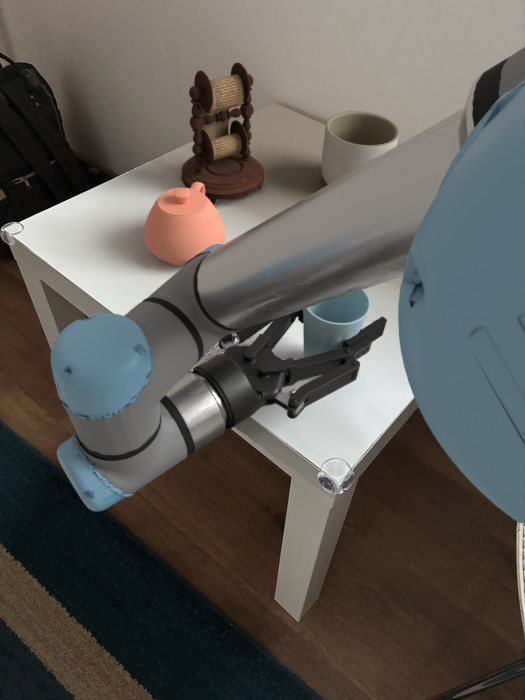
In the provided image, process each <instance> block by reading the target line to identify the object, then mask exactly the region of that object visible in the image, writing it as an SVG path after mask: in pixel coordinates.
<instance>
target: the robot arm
mask: <svg viewBox="0 0 525 700" xmlns="http://www.w3.org/2000/svg"><path fill="white" fill-rule="evenodd" d="M399 278H402V280H401V284H400V288H399V295H398V303H397V304H398V305H397V307H398V308H397V321H398V322H397V324H398V326H397V327H398V338H399V339H398V341H399V347H400V353H401V358H402V364H403V367H404V371H405V375H406V378H407V382H408V384H409V387H410V389H411V393H412V395H413V398H414V400H415V402H416V404H417V407H418V409H419V411H420V414H421V415H422V417H423V420H424V421H425V423H426V424H427V426H428V428H429V430H430V432H431V433H432V435H433V436H434V438H435V439H436V442H438V444H439V445H440V448H442V449H443V451H444V452H445V454H446V455H447V456H448V458H449V459H450V460H451V461H452V463H453V464H454V465H455V466H456V467H457V469H458V470H459V471H460V472H461V473H462V474H463V475H464V476H465V478H466V479H467V480H468V481H469V482H470V483H471V484H472V485H473V486H474V487H475V488H476V489H477V490H478V491H479V492H480V493H482V495H483V496H485V497H486V498H487V499H488V500H489V501H490V502H491V503H492V504H494V505H495V506H496V507H497V508H499V510H501V511H502V512H504V513H505V514H506V515H507V516H509V517H510V518H511V519H512V520H514V521H516V522H517V523H519V524H523V525H524V524H525V46H523V47H522V48H521V49H519V50H518V51H516V52H515V53H513V54H511V55H509V56H508V57H507V58H505V59H503V60H502V61H500V62H498V63H496V64H495V65H493V66H492V67H490V68H489V69H487V70H485V71H483V72H482V73H480V75H478V76H477V77H476V78H475V79H474V80H473V82H472V83H471V85H470V89H469V91H468V94H467V97H466V101H465V103H464V107H462V108H461V109H459V110H457V111H456V112H453V113H452V114H451V115H449V116H447V117H445V118H443V119H441V120H440V121H438V122H436V123H434V124H433V125H431V126H429V127H428V128H426V129H424V130H422V131H420V132H418V133H417V134H415V135H414V136H412V137H409V138H408V139H405V140H404V141H403V142H401V143H400V144H397V146H396V147H394V148H392V149H391V150H389V151H387V152H385V153H384V154H382V155H380V156H378V157H377V158H375V159H373V160H371V161H370V162H368V163H366V164H364V165H363V166H361V167H359V168H357V169H356V170H354V171H352V172H350V173H349V174H347V175H345V176H343V177H342V178H340V179H338V180H336V181H335V182H333V183H331V184H329V185H327V184H326V186H324V187H322V188H320V189H319V190H317V191H315V192H313V193H312V194H310V195H308V196H307V197H305V198H303V199H301V200H299V201H297V202H296V203H294V204H292V205H291V206H289V207H287V208H286V209H284V210H282V211H280V212H278V213H277V214H274V215H273V216H271V217H270V218H268V219H266V220H264V221H262V222H260V223H259V224H257V225H256V226H253V227H252V228H250V229H248V230H247V231H245V232H243V233H241V234H240V235H238V236H236V237H235V238H233V239H231V240H229V241H228V242H225V243H223V244H215V245H212V246H210V247H208V248H207V249H205V250H204V251H202V252H200V253H198V254H197V255H195V256H194V257H193V258H191V259H190V260H189V261H187V262H186V263H185V264H184V266H183V265H182V267H181V268H180V269H179V270H178V271H177V272H175V274H173V275H172V276H171V277H170V278H168V279H167V280H166V281H164V282H163V284H161V285H160V286H158V288H157V289H155V290H154V291H153V292H152V293H151V294H150V295H149V296H147V297H146V298H144V299H142V301H141V302H139V303H138V304H137V305H135V306H134V307H132V309H130V310H129V311H128V312H127V313H126V314H124V315H122V314H118V313H112V312H111V313H110V312H99V313H94V314H92V315H91V316H90V317H88V318H85V319H76V320H74V321H73V322H71V323H69V324H68V325H67V326H66V327H64V328H63V330H61V331H60V333H59V334H58V335H57V337H56V338H55V340H54V341H53V345H52V348H51V349H50V350H51V352H50V367H51V371H52V376H53V381H54V384H55V388H56V391H57V395H58V396H57V397H58V398H59V401H60V402H61V404H62V406H63V408H64V409H65V411H66V413H67V415H68V417H69V419H70V422H71V424H72V426H73V428H74V430H75V433H74V434H72V435H71V437H69V438H68V439H67V440H64V441H63V442H62V443H61V444H59V446H58V447H57V450H56V456H57V460H58V462H59V464H60V466H61V468H62V469H63V471H64V473H65V475H66V477H67V478H68V479H69V482H70V483H71V485H72V487H73V489H74V490H75V492H76V493H77V495H78V497H79V498H80V500H81V501H82V502H83V504H84V505H85V506H86V508H88V510H90V511H92V512H103V511H105V510H107V509H109V508H110V507H112V506H113V505H116V503H119V502H120V501H122V500H123V499H125V498H130V497H132V496H133V495H134V494H135V493H136V492H138V491H139V490H141V489H142V488H143V487H145V486H146V485H148V484H149V483H152V481H154V480H155V479H157V478H159V477H160V476H161V475H163V474H164V473H166V472H168V471H169V470H170V469H172V468H174V466H176V465H178V464H179V463H181V462H182V461H184V460H185V459H187V458H188V457H189V456H191V455H192V454H194V453H196V452H197V451H199V450H200V449H202V448H203V447H205V446H206V445H208V444H209V443H212V442H213V441H214V440H216V439H217V438H219V437H220V436H222V435H224V434H225V431H226V429H228V430H231V429H233V428H234V427H236V426H238V425H239V424H241V423H242V422H244V421H246V420H247V419H248V418H250V417H252V416H253V415H254V414H256V413H257V412H258V411H259V410H260V409H262V408H263V407H267V406H272V405H275V404H276V405H277V406H279V407H281V408H282V409H284V410H285V411H286V416H287V418H289V419H293V420H294V419H297V418H298V416H299V415H301V413H302V412H303V411H304V410H305V409H306V407H308V406H310V405H312V404H314V403H316V402H317V401H319V400H322V399H323V398H325V397H327V396H329V395H331V394H333V393H334V392H337V391H338V390H340V389H343V388H344V387H346V386H348V385H349V384H352V383H353V382H355V381H356V380H357V378H358V374H359V371H360V367H361V362H360V360H358V359H361V358H362V357H363V356H365V355H366V354H368V353H369V352H370V350H371V348H372V344H373V342H375V341H376V340H378V339H379V338H381V337H382V336H383V335H384V332H385V328H386V325H387V322H388V319H387V318H386V317H384V316H380V317H379V318H377V319H375V320H374V321H372V322H370V323H369V324H368V325H366V326H365V327H363V328H361V330H360V331H359V333H358V334H357V335H355V336H353V337H351V338H350V339H347V340H344V342H343V346H342V348H341V349H337V350H333V351H329V352H325V353H320V354H316V355H312V356H308V357H304V356H303V357H300V358H296V359H295V358H293V357H289V358H285V359H282V358H281V357H279V356H277V355H275V353H274V352H273V349H274V348H275V347H276V346H277V345H278V344H279V342H280V341H281V340H282V338H283V337H284V336H285V335H286V334H287V332H288V331H289V329H290V328H291V327H292V326H293V324H295V322H296V320H298V322H300V323H301V324H303V309H305V308H308V307H311V306H314V305H317V304H320V303H323V302H327V301H330V300H333V299H336V298H339V297H342V296H345V295H348V294H351V293H354V292H357V291H360V290H366V289H368V288H372V287H375V286H379V285H381V284H385V283H387V282H390V281H393V280H396V279H399ZM266 327H267V328H266ZM264 328H266V329H265V330H264V331H263V333H262V332H261V333H259V332H260V331H262V330H263V329H264ZM257 333H259V335H258V336H257V337H256V338H255V340H253V342H252V343H251V344H249V345H242V344H243V343H245V342H246V341H247V340H249V339H250V338H251V337H253V336H255V335H256V334H257ZM217 344H218V345H217ZM216 345H217V346H218V348H219V349H220V350H223V351H224V352H223V353H220V354H216V355H214V356H213V357H211V358H209V359H207V360H206V361H204V362H202V363H201V364H198V365H197V363H199V362H200V361H201V360H202V359H203V358H204V356H206V355H207V353H209V351H211V350H212V349H213V348H214V347H215V346H216ZM193 367H194V368H193ZM191 369H193V370H192V372H191ZM312 378H313V379H312ZM308 379H312V380H309V381H307V382H305V383H304V384H302V385H301V386H299V387H298V388H297V389H295V388H291V389H290V390H289V391H287V392H282V391H283V388H287V387H291V386H293V385H295V384H297V382H301V381H303V380H308Z"/></svg>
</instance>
